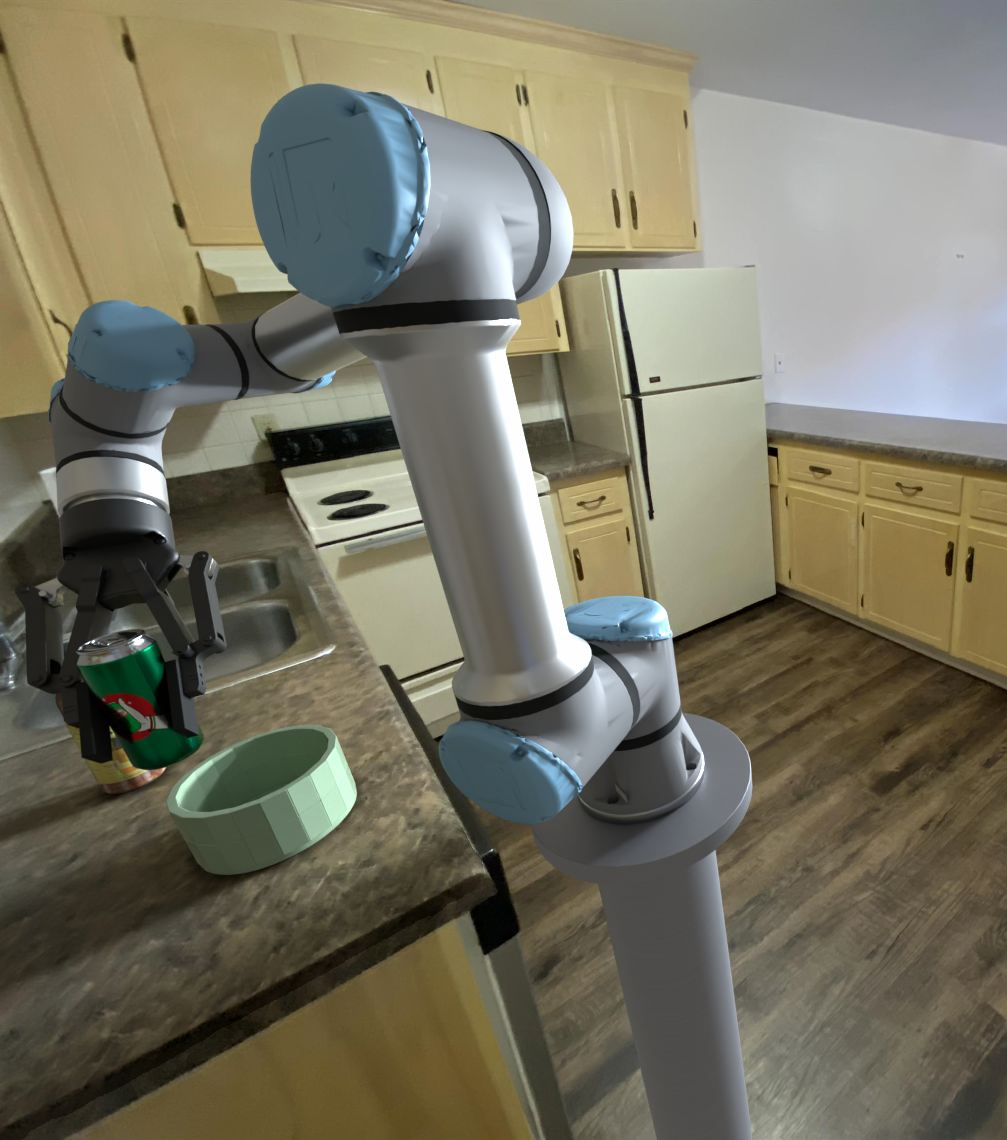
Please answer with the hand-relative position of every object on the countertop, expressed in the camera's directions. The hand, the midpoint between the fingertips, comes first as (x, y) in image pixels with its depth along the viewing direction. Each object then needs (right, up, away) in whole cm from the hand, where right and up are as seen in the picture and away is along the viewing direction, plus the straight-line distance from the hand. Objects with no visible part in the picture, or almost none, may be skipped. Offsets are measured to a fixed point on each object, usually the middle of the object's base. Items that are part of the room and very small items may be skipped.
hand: (143, 745), depth 52 cm
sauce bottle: (-26, -11, +25) cm, 38 cm away
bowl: (-1, -13, +17) cm, 21 cm away
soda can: (-2, -2, +4) cm, 5 cm away
